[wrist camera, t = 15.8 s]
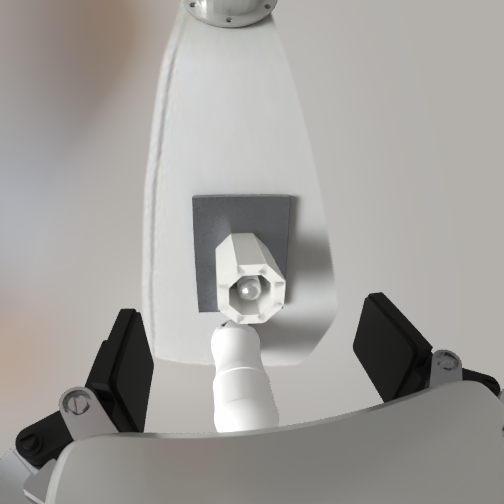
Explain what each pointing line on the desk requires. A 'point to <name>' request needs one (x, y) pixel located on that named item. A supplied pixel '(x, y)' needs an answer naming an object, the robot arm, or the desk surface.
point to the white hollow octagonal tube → (245, 264)
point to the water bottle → (241, 381)
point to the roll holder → (236, 221)
